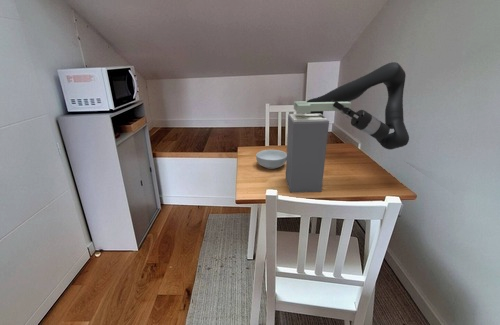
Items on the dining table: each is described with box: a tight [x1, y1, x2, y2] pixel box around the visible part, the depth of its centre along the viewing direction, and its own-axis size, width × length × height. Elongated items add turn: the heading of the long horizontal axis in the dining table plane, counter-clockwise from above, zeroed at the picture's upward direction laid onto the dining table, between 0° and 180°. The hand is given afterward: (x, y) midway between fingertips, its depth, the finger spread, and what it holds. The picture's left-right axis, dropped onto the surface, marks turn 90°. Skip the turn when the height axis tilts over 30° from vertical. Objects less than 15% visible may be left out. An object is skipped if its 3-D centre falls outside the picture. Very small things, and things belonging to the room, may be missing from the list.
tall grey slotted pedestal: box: [285, 113, 330, 194], centre depth 107 cm, size 14×14×32 cm
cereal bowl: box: [255, 149, 287, 170], centre depth 133 cm, size 17×17×7 cm
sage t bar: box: [293, 100, 352, 114], centre depth 100 cm, size 22×10×3 cm, turn 90°
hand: (332, 102), depth 99 cm, fingers closed on sage t bar, 3 cm apart
